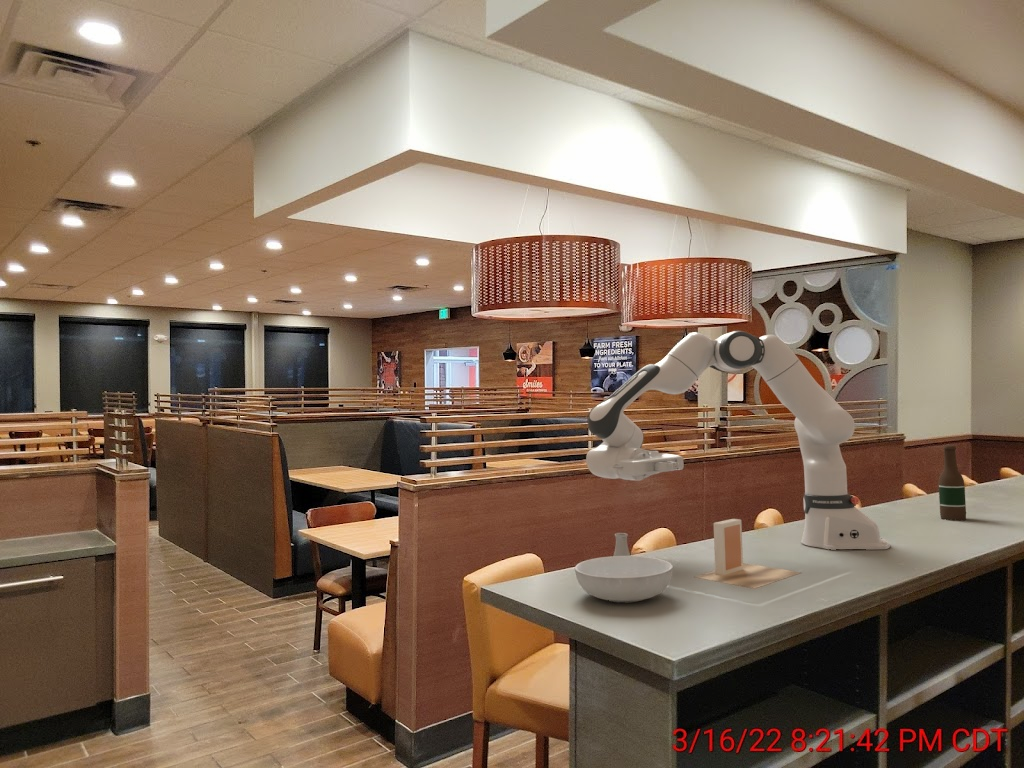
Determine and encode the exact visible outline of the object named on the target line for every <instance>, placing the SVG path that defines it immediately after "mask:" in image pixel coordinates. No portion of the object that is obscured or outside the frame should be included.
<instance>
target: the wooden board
mask: <svg viewBox="0 0 1024 768" xmlns="http://www.w3.org/2000/svg"><path fill="white" fill-rule="evenodd" d="M799 574H802V572H801V571H800V572H799V571H794V570H788V569H782V568H776V567H770V566H764V565H757V564H753V563H746V562H745V563H744V562H743V570H740V571H736V572H733V573H730V574H726V575H721V574H715V570H712V571H709V572H706V573H703V574H699V575H696V576H694V578H697V579H703V580H707V581H712V582H713V581H714V582H718V583H724V584H729V585H734V586H738V587H739V586H740V587H743V588H750V589H757V588H760V587H761V588H762V587H763V586H767V585H771V584H773V583H775V582H779V581H782V580H785V579H788V578H791V577H794V576H797V575H799Z"/></svg>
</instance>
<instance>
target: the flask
mask: <svg viewBox="0 0 1024 768" xmlns="http://www.w3.org/2000/svg"><path fill="white" fill-rule="evenodd" d="M628 536H629V534H628V533H627V532H617V533H614V537H615V547H614V552H613V556H632V555H631V554H630V550H629V546H628V545H629V544H628V539H627V538H628Z"/></svg>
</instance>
